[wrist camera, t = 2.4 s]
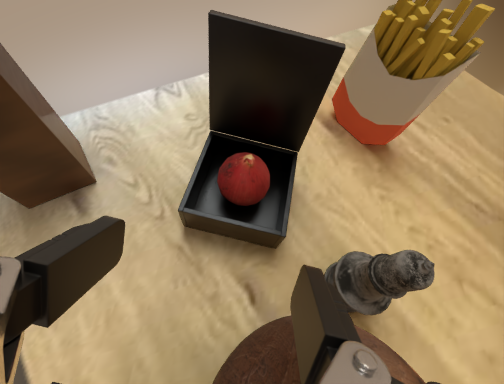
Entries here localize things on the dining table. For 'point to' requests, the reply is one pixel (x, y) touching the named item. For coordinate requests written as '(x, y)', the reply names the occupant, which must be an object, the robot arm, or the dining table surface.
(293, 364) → the wooden sphere
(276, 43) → the box lid
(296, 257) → the dining table surface
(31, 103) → the pedestal
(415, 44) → the french fries container
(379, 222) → the dining table surface
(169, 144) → the dining table surface
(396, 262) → the grey chess piece
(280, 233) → the box
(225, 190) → the pomegranate
